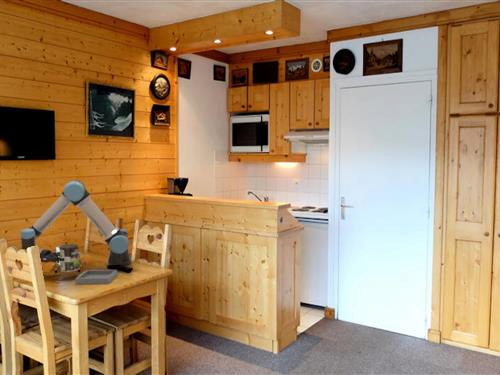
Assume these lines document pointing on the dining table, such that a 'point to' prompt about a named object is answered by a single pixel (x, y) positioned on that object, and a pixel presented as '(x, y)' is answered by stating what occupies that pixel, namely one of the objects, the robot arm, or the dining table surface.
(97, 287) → the dining table surface
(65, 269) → the coffee can
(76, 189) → the robot arm
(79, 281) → the tray
